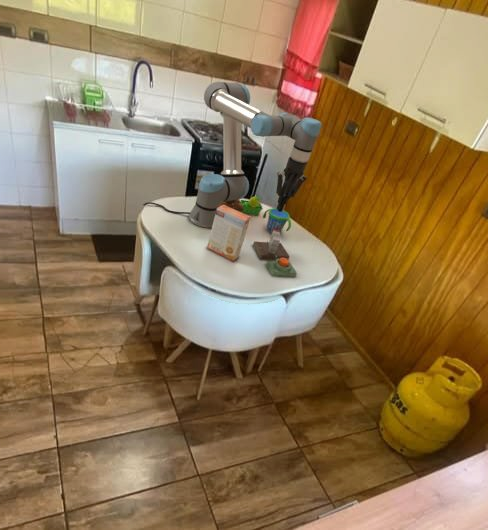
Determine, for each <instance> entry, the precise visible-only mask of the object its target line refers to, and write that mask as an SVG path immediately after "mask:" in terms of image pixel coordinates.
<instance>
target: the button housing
mask: <svg viewBox="0 0 488 530" xmlns="http://www.w3.org/2000/svg"><path fill="white" fill-rule="evenodd" d="M266 261H267V262H266V264H265V265H266V268H267V269H268V270H269V273H270V275H271V276H272V277H293V278H294V277H296V276H297V273H298V272H297V270H296V269H295V267H294V266H293V265H292V263H291V262H289V265H288V267H283V266H281V265H279V264H278V262H279V259H276V260H266Z"/></svg>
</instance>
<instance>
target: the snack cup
mask: <svg viewBox="0 0 488 530" xmlns="http://www.w3.org/2000/svg"><path fill="white" fill-rule="evenodd" d="M267 213H268V218H267ZM266 218H267V224H266V230H267V231H268V232H270V233H272V232H273V230H278V231H280V233H281V232H282V231H283V229H284V227H285V225H286V223H288V226H287V228H286V230H285V232H288V231H289V230H290V229H291V226H292V221H291V218H290V213H289V212H287V211H286V210H284V209H283V210H282V212H279V211H278V210H277V207H276V208H275V207H273V208H269V209H267V210H265V211H264V213H263V215H262V219H266Z"/></svg>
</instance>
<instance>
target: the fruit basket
mask: <svg viewBox="0 0 488 530" xmlns="http://www.w3.org/2000/svg"><path fill="white" fill-rule="evenodd" d="M259 199H260V198H259V196H257V195H256V196H253V197H250V198H249V200H246V199H240V201H241V203H242V206H243V209H242V213H243V214H246V215H250V216H251V215H252V216H259V214H260V213H261V211H262V210H264V209H263V206H262V204H261V202H260V200H259Z"/></svg>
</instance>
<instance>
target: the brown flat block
mask: <svg viewBox="0 0 488 530" xmlns="http://www.w3.org/2000/svg"><path fill="white" fill-rule="evenodd" d="M252 248H253V249H254V251H255V253H256V254H257V257H258V258H259V260H266V261H275V260H276V259H280V258H286V259H288V260H290V254H289V253H288V252H287V249H286V248H285V247H284V245H283V244H282V242H280V243H279V245H278V248H277V250H276V253H275V254H271V253H269V241H268V240H266V241H255V240H254V241H253V243H252Z"/></svg>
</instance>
